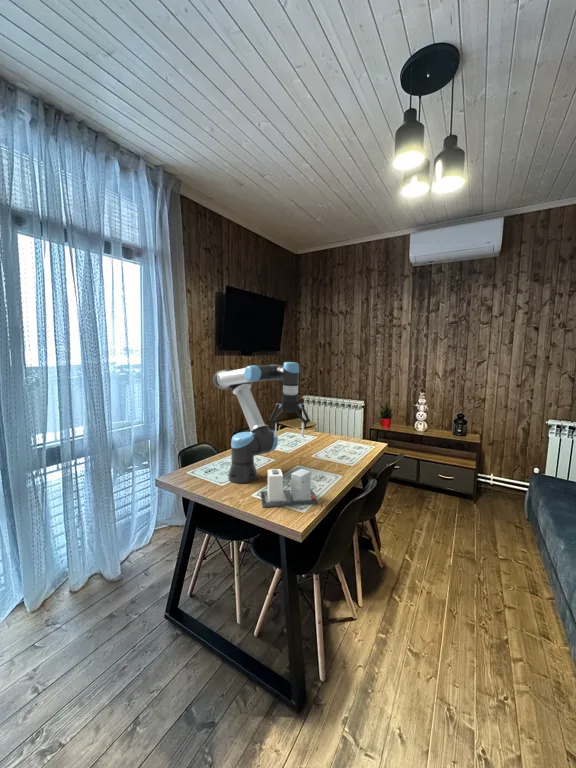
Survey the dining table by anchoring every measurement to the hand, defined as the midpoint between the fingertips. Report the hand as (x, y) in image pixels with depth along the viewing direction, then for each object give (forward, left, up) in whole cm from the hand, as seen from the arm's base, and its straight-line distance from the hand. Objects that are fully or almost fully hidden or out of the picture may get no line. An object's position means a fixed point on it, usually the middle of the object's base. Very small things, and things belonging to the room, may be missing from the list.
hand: (289, 436), depth 153 cm
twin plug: (-9, -16, -23) cm, 29 cm away
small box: (+3, -16, -23) cm, 28 cm away
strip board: (-3, -16, -25) cm, 30 cm away
